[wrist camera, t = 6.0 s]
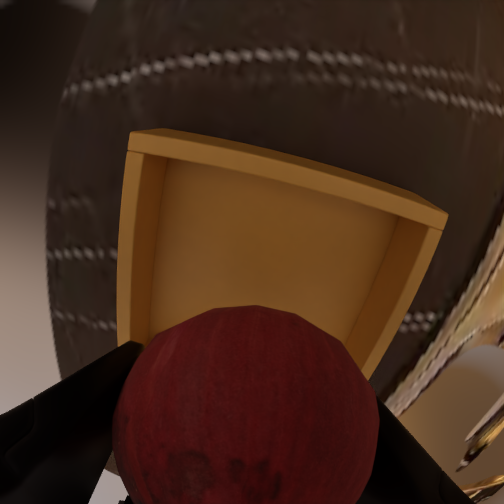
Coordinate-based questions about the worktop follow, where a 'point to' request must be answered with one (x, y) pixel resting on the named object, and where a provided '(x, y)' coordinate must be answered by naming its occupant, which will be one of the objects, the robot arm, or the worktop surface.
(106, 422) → the robot arm
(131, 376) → the onion
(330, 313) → the amber tray
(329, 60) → the worktop surface
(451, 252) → the worktop surface
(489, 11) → the worktop surface
